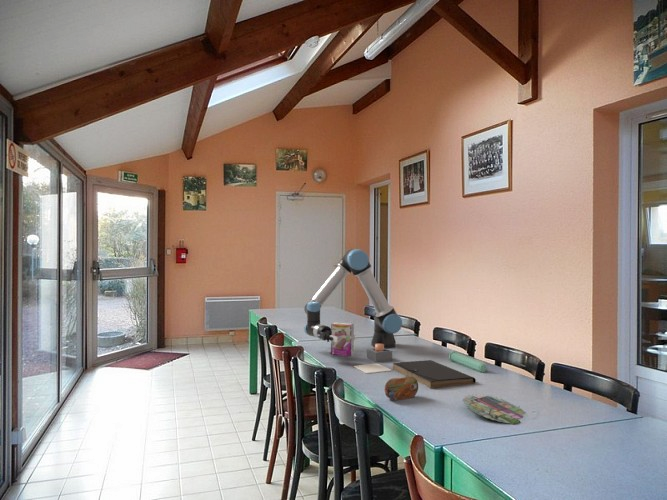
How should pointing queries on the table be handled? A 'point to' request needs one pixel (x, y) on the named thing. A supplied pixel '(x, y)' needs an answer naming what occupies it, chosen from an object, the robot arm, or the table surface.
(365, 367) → the paper sheet
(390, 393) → the tin
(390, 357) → the button housing
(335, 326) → the candy bar box
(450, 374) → the dark brown book
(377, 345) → the button
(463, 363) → the container
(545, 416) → the table surface
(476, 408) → the city model
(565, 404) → the table surface
